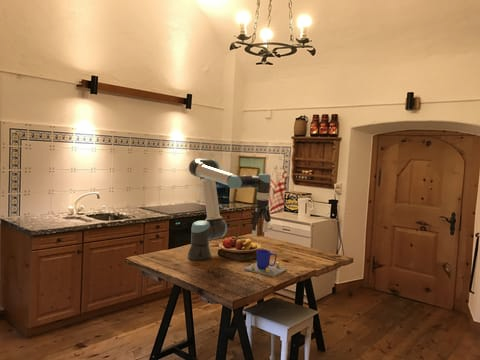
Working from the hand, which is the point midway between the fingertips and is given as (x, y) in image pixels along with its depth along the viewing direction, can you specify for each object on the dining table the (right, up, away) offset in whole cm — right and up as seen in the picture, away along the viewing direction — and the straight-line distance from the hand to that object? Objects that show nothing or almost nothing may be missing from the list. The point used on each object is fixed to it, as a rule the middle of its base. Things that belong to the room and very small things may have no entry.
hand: (260, 233), depth 245 cm
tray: (+3, -21, -4) cm, 22 cm away
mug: (+3, -20, -4) cm, 21 cm away
